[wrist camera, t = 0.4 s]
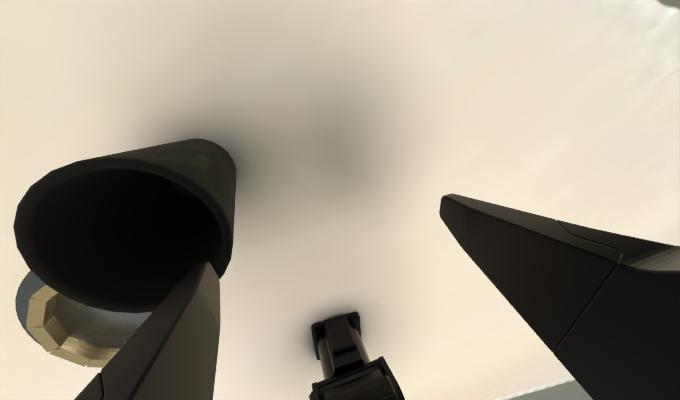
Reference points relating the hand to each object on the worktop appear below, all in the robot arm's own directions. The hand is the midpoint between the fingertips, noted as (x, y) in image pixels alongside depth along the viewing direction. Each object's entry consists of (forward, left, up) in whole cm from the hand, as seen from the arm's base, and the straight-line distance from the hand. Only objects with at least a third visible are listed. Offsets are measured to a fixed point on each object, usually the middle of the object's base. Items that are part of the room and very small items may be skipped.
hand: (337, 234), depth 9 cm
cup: (0, +8, -15) cm, 17 cm away
